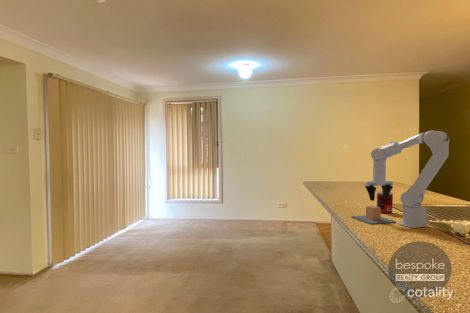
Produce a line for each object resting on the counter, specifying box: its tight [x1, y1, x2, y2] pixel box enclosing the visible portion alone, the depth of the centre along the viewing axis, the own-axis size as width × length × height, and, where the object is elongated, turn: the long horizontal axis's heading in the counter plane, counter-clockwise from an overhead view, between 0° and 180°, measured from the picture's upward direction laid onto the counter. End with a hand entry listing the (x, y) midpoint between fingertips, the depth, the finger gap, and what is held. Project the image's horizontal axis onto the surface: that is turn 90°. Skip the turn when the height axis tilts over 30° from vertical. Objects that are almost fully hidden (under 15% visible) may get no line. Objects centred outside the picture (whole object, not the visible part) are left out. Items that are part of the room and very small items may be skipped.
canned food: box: [376, 190, 394, 215], centre depth 163 cm, size 8×8×11 cm
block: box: [365, 205, 381, 220], centre depth 146 cm, size 4×4×6 cm
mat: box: [351, 214, 397, 225], centre depth 146 cm, size 14×14×1 cm
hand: (378, 200), depth 148 cm, fingers open, 7 cm apart
